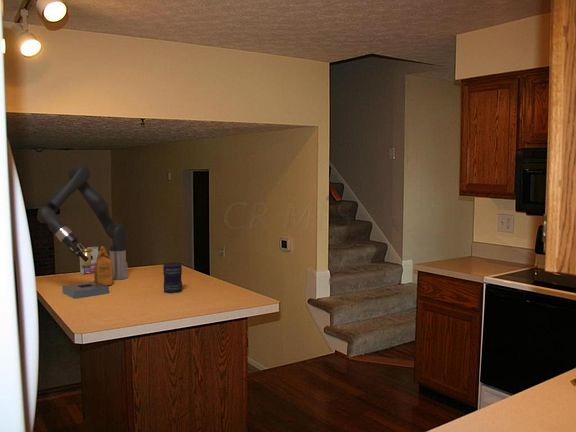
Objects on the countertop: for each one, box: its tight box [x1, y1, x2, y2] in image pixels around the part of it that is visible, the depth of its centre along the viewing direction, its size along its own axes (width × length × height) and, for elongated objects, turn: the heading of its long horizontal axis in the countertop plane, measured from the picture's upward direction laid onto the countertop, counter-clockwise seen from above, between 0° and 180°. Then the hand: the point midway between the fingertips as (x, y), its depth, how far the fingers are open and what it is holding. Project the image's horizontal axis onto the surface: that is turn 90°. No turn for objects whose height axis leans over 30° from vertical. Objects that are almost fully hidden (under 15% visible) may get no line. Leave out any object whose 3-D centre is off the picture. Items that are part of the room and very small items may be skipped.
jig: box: [61, 280, 110, 300], centre depth 283 cm, size 18×18×4 cm
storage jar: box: [162, 262, 183, 294], centre depth 287 cm, size 10×10×15 cm
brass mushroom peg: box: [81, 247, 91, 268], centre depth 282 cm, size 6×6×10 cm
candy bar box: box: [79, 246, 100, 275], centre depth 341 cm, size 11×5×16 cm, turn 143°
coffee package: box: [93, 245, 113, 286], centre depth 304 cm, size 10×12×22 cm
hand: (89, 259), depth 282 cm, fingers closed on brass mushroom peg, 4 cm apart
